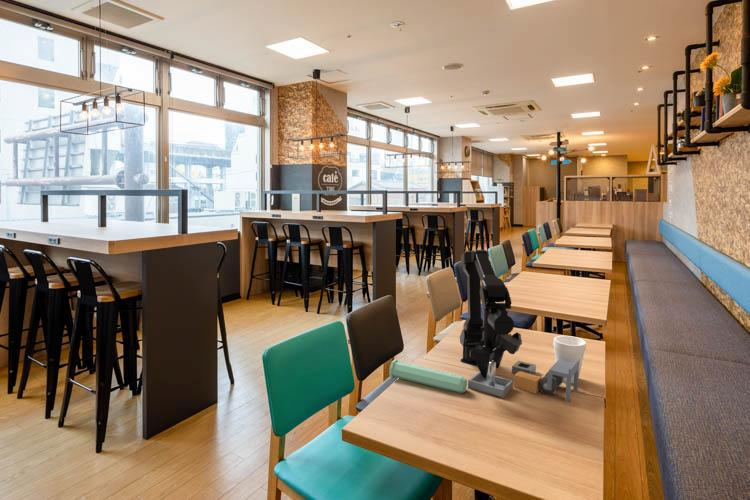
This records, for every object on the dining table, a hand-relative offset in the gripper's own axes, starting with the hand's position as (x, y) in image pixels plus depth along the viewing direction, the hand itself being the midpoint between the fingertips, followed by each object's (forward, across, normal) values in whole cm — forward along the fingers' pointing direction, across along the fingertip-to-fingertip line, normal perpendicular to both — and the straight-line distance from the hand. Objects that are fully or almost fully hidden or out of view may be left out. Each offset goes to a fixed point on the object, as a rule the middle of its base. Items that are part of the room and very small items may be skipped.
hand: (490, 372), depth 135 cm
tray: (+5, 0, 0) cm, 5 cm away
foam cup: (+5, +22, -17) cm, 28 cm away
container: (+5, -9, +17) cm, 20 cm away
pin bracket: (+5, +18, -4) cm, 19 cm away
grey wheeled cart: (+5, +10, -17) cm, 21 cm away
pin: (+4, 0, 0) cm, 5 cm away
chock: (+5, +7, -9) cm, 13 cm away
